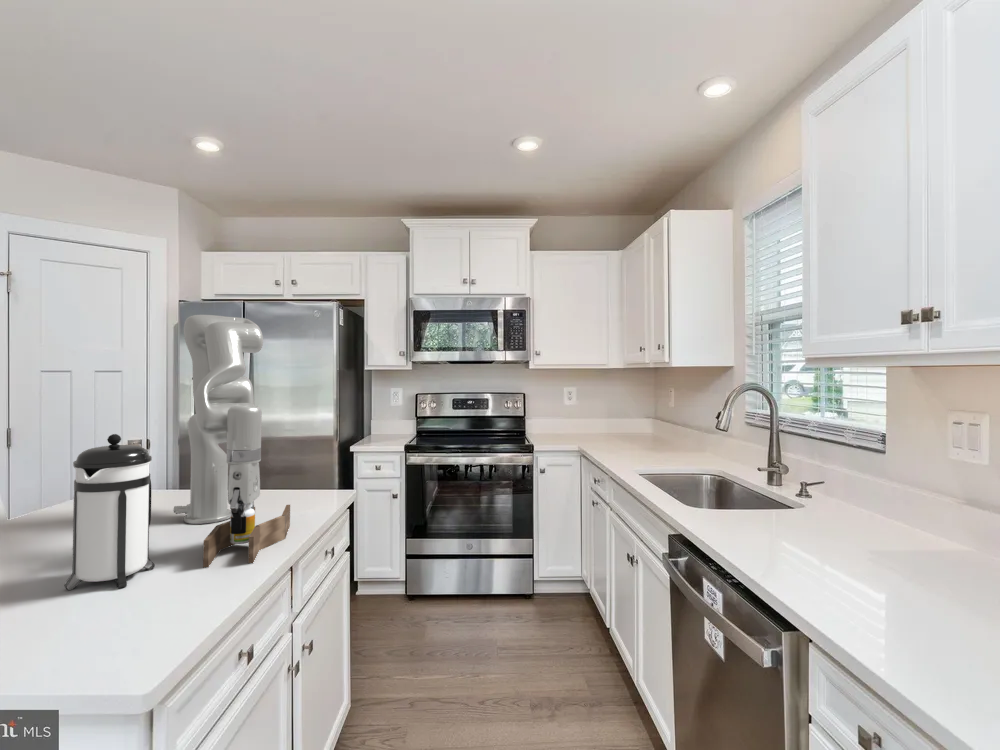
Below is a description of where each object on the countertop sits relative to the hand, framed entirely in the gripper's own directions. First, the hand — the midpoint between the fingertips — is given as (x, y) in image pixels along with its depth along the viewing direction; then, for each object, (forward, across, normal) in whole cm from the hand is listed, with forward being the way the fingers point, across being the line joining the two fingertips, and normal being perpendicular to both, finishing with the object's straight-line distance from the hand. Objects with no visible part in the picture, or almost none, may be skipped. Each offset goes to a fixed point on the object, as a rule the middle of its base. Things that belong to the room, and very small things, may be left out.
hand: (242, 528), depth 121 cm
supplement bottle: (+3, 0, 0) cm, 3 cm away
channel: (+5, +3, -2) cm, 6 cm away
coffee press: (+5, -14, +21) cm, 26 cm away
